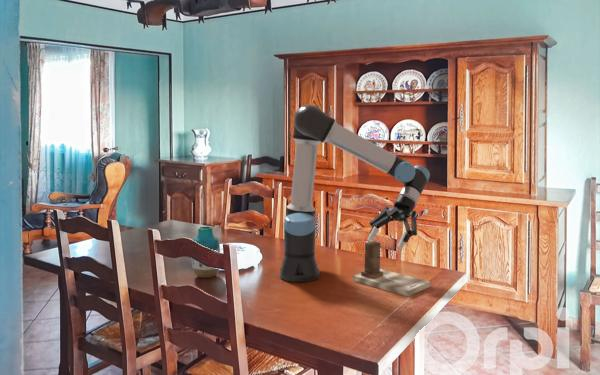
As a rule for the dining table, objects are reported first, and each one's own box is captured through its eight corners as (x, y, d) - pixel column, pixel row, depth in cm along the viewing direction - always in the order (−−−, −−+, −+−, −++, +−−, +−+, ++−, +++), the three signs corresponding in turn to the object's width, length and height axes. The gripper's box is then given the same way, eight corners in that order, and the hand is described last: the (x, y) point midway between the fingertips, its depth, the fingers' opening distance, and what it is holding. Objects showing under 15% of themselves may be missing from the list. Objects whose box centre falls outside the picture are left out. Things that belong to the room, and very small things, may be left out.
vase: (190, 274, 209) (189, 225, 207) (218, 271, 213) (217, 223, 210) (193, 282, 199) (192, 231, 197) (222, 279, 203) (221, 229, 200)
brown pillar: (361, 275, 201) (361, 241, 199) (370, 272, 205) (370, 238, 203) (374, 279, 197) (374, 244, 195) (383, 275, 201) (384, 241, 199)
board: (353, 280, 201) (353, 275, 201) (375, 272, 211) (375, 267, 211) (408, 296, 185) (408, 290, 185) (429, 286, 195) (430, 281, 195)
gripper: (438, 210, 205) (416, 257, 197) (384, 202, 222) (361, 245, 214) (432, 198, 201) (408, 245, 192) (376, 191, 218) (353, 234, 209)
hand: (383, 245), depth 203 cm, fingers open, 13 cm apart
